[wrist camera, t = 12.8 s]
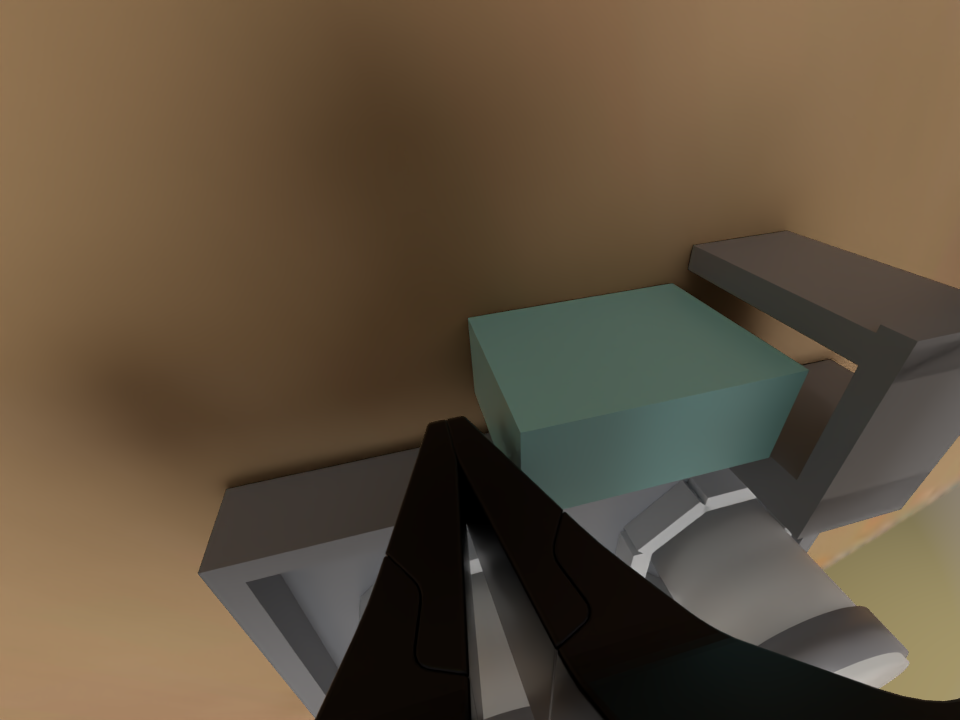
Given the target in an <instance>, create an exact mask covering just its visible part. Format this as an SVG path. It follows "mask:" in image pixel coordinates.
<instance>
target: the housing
mask: <svg viewBox="0 0 960 720" xmlns="http://www.w3.org/2000/svg"><path fill="white" fill-rule="evenodd" d="M688 270H690V271H692V272H693V273H695V274H697V275H699V276H700V277H702V278H704V279H706V280H708V281H709V282H711V283H713V284H715V285H716V286H718V287H720V288H722V289H724V290H725V291H727V292H729V293H731V294H732V295H734V296H736V297H738V298H739V299H741V300H743V301H745V302H747V303H748V304H750V305H752V306H754V307H755V308H757V309H759V310H761V311H763V312H764V313H766V314H768V315H770V316H771V317H773V318H775V319H777V320H779V321H780V322H782V323H784V324H786V325H787V326H789V327H791V328H793V329H795V330H796V331H798V332H800V333H802V334H803V335H805V336H807V337H809V338H811V339H812V340H814V341H816V342H818V343H819V344H821V345H823V346H825V347H827V348H828V349H830V350H832V351H834V352H835V353H837V354H839V355H841V356H843V357H844V358H846V359H848V360H850V361H851V362H853V363H855V364H857V365H858V367H857V369H856V371H855V373H853V372H851V371H850V370H848V369H846V368H844V367H843V366H841V365H839V364H838V363H836V362H834V361H832V360H831V359H830V360H825V361H820V362H816V363H811V364H807V365H802V366H804V367H805V368H807V369H808V370H809V372H808V374H807V376H806V378H805V380H804V382H803V385H802V387H801V389H800V391H799V393H798V395H797V398H796V400H795V402H794V404H793V406H792V409H791V411H790V413H789V415H788V417H787V419H786V422H785V424H784V426H783V428H782V430H781V432H780V435H779V437H778V439H777V441H776V443H775V445H774V448H773V450H772V452H771V454H770V456H769V458H766V459H762V460H758V461H754V462H750V463H746V464H742V465H738V466H734V467H730V468H726V469H722V470H718V471H714V472H710V473H706V474H702V475H698V476H694V477H690V478H686V479H682V480H678V481H674V482H670V483H666V484H662V485H658V486H654V487H650V488H646V489H643V490H639V491H635V492H631V493H627V494H623V495H619V496H615V497H611V498H607V499H603V500H599V501H595V502H591V503H587V504H583V505H579V506H575V507H571V508H567V509H563V512H567V513H568V514H569V515H570V516H571V517H572V518H573V519H574V520H575V521H576V522H577V523H578V524H579V525H580V526H581V527H583V528H584V529H585V530H586V531H587V532H588V533H589V534H590V535H592V536H593V537H594V538H595V539H596V540H597V541H598V542H599V543H601V544H602V545H603V546H604V547H606V548H607V549H608V550H609V551H611V552H612V553H613V554H615V555H616V556H617V557H618V558H620V559H621V560H622V561H623V562H625V563H626V564H627V565H629V566H630V567H631V568H633V569H634V570H635V571H637V572H638V573H639V574H641V575H642V576H643V577H644V578H646V579H647V580H648V581H650V582H651V583H652V584H654V585H655V586H656V587H658V588H659V589H660V590H662V591H663V592H664V593H666V594H667V595H668V596H670V597H671V598H672V599H673V597H672V595H671V594H670V592H669V590H668V589H667V587H666V585H665V584H664V582H663V580H662V579H661V577H660V575H659V574H658V572H657V570H656V569H655V567H654V565H653V564H652V562H651V561H650V559H651V556H652V553H653V552H654V551H656V550H657V549H658V548H660V547H661V546H662V545H664V544H665V543H666V542H667V541H669V540H670V539H671V538H673V537H674V536H675V535H677V534H678V533H679V532H681V531H682V530H683V529H684V528H686V527H687V526H688V525H690V524H691V523H692V522H694V521H695V520H696V519H697V518H699V517H700V516H701V515H703V514H704V513H705V512H707V511H710V510H714V509H718V508H721V507H725V506H729V505H732V504H736V503H740V502H744V501H747V500H751V499H756V500H757V501H758V502H759V503H760V504H761V505H762V506H763V507H764V508H765V509H766V510H767V511H768V512H769V513H770V514H771V516H772V517H773V518H774V519H775V520H776V521H777V522H778V523H779V524H780V525H781V526H782V527H783V528H784V529H785V530H786V531H787V533H788V534H789V535H790V536H791V537H792V538H793V539H794V540H795V541H796V542H797V543H798V544H799V545H800V546H801V547H802V549H803V550H804V551H805V552H806V553H807V552H808V550H809V549H810V547H811V545H812V544H813V542H814V541H815V539H816V538H817V536H818V535H819V533H821V532H824V531H828V530H831V529H835V528H838V527H842V526H845V525H848V524H852V523H855V522H859V521H862V520H866V519H869V518H873V517H876V516H879V515H883V514H886V513H890V512H893V511H897V510H900V509H901V508H902V507H903V506H904V505H905V503H906V502H907V501H908V500H909V498H910V497H911V496H912V495H913V493H914V492H915V491H916V490H917V488H918V487H919V486H920V484H921V483H922V482H923V481H924V479H925V478H926V477H927V476H928V474H929V473H930V472H931V471H932V469H933V468H934V467H935V465H936V464H937V463H938V462H939V460H940V459H941V458H942V457H943V455H944V454H945V453H946V452H947V450H948V449H949V448H950V446H951V445H952V444H953V443H954V441H955V440H956V439H957V438H958V436H959V435H960V289H957V288H954V287H951V286H948V285H945V284H942V283H939V282H937V281H934V280H931V279H928V278H925V277H922V276H919V275H916V274H913V273H910V272H907V271H904V270H901V269H898V268H895V267H892V266H890V265H887V264H884V263H881V262H878V261H875V260H872V259H869V258H866V257H863V256H860V255H857V254H854V253H851V252H848V251H846V250H843V249H840V248H837V247H834V246H831V245H828V244H825V243H822V242H819V241H816V240H813V239H810V238H807V237H804V236H801V235H799V234H796V233H793V232H790V231H782V232H776V233H769V234H763V235H756V236H750V237H743V238H737V239H730V240H724V241H718V242H711V243H705V244H698V245H693V249H692V254H691V258H690V263H689V267H688ZM484 435H485V436H486V437H487V438H488V439H489V440H490V441H491V442H492V443H493V441H492V438H491V435H490V433H486V434H484ZM493 444H494V443H493ZM419 450H420V448H416V449H411V450H406V451H402V452H397V453H392V454H388V455H383V456H379V457H374V458H369V459H365V460H360V461H355V462H351V463H346V464H341V465H337V466H332V467H327V468H323V469H318V470H313V471H309V472H304V473H299V474H295V475H290V476H285V477H281V478H276V479H272V480H267V481H262V482H258V483H253V484H248V485H244V486H239V487H234V488H230V489H226V491H225V494H224V497H223V500H222V503H221V506H220V509H219V512H218V515H217V518H216V521H215V524H214V527H213V530H212V533H211V536H210V539H209V542H208V545H207V548H206V551H205V554H204V557H203V560H202V563H201V566H200V569H199V572H198V574H199V576H200V577H201V578H202V579H203V581H204V582H205V583H206V584H207V586H208V587H209V588H210V589H211V590H212V592H213V593H214V594H215V595H216V597H217V598H218V599H219V600H220V602H221V603H222V604H223V605H224V606H225V608H226V609H227V610H228V611H229V613H230V614H231V615H232V616H233V618H234V619H235V620H236V621H237V622H238V624H239V625H240V626H241V627H242V629H243V630H244V631H245V632H246V634H247V635H248V636H249V637H250V639H251V640H252V641H253V642H254V643H255V645H256V646H257V647H258V648H259V650H260V651H261V652H262V653H263V655H264V656H265V657H266V658H267V659H268V661H269V662H270V663H271V664H272V666H273V667H274V668H275V669H276V671H277V672H278V673H279V674H280V676H281V677H282V678H283V679H284V680H285V682H286V683H287V684H288V685H289V687H290V688H291V689H292V690H293V692H294V693H295V694H296V695H297V696H298V698H299V699H300V700H301V701H302V703H303V704H304V705H305V706H306V708H307V709H308V710H309V711H310V713H311V714H312V715H313V716H314V717H315V718H316V716H317V714H318V711H319V709H320V707H321V705H322V703H323V701H324V699H325V696H326V694H327V692H328V690H329V688H330V686H331V683H332V681H333V679H334V677H335V675H336V673H337V671H338V668H339V666H340V664H341V662H342V660H343V658H344V655H345V653H346V651H347V649H348V647H349V645H350V643H351V640H352V638H353V636H354V634H355V631H356V629H357V627H358V624H359V622H360V620H361V617H362V615H363V613H364V611H365V608H366V606H367V603H368V601H369V598H370V595H371V592H372V590H373V587H374V584H375V582H376V579H377V576H378V573H379V570H380V567H381V564H382V561H383V558H384V557H385V556H386V555H385V553H386V549H387V546H388V543H389V540H390V537H391V534H392V531H393V528H394V525H395V522H396V519H397V516H398V513H399V510H400V507H401V504H402V501H403V498H404V495H405V492H406V489H407V486H408V483H409V480H410V477H411V474H412V471H413V468H414V465H415V462H416V459H417V456H418V453H419ZM466 525H467V524H466ZM467 535H468V547H469V558H470V570H471V574H475V573H478V572H482V568H481V565H480V562H479V559H478V556H477V553H476V550H475V548H474V545H473V542H472V539H471V536H470V533H469V530H468V527H467Z"/></svg>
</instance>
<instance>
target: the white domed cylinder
mask: <svg viewBox="0 0 960 720" xmlns="http://www.w3.org/2000/svg"><path fill="white" fill-rule="evenodd" d="M471 581H472V593H473V604H474V615H475V627H476V638H477V650H478V661H479V673H480V684H481V696H482V707H483V719H484V720H535V719H534V716H533V714H532V711H531V708H530V705H529V702H528V699H527V696H526V693H525V691H524V688H523V685H522V682H521V679H520V676H519V673H518V671H517V668H516V665H515V662H514V659H513V656H512V653H511V651H510V648H509V645H508V642H507V639H506V636H505V633H504V631H503V628H502V625H501V622H500V619H499V616H498V613H497V611H496V608H495V605H494V602H493V599H492V596H491V593H490V591H489V588H488V585H487V582H486V579H485V576H484V573H483V571H482V572H478V573H475V574H471Z"/></svg>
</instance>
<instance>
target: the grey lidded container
mask: <svg viewBox="0 0 960 720" xmlns="http://www.w3.org/2000/svg"><path fill="white" fill-rule="evenodd" d="M650 561H651V562H652V564H653V565H654V567H655V569H656V570H657V572H658V574H659V575H660V577H661V579H662V580H663V582H664V584H665V585H666V587H667V589H668V590H669V592H670V594H671V595H672V597H673V599H674V600H675V601H676V602H678V603H679V604H680V605H682V606H683V607H684V608H686V609H687V610H688V611H690V612H691V613H692V614H694V615H695V616H697V617H698V618H700V619H701V620H703V621H704V622H706V623H707V624H709V625H711V626H713V627H714V628H716V629H718V630H720V631H722V632H724V633H726V634H728V635H730V636H732V637H735V638H737V639H740V640H742V641H745V642H748V643H751V644H754V645H756V646H759V647H762V648H765V649H768V650H771V651H773V652H776V653H779V654H782V655H785V656H788V657H790V658H793V659H796V660H799V661H802V662H805V663H807V664H810V665H813V666H816V667H819V668H821V669H824V670H827V671H830V672H833V673H836V674H838V675H841V676H844V677H847V678H850V679H853V680H855V681H858V682H861V683H864V684H867V685H869V686H872V687H875V688H878V689H879V688H880V687H882V686H884V685H885V684H887V683H888V682H890V681H891V680H893V679H894V678H895V677H897V676H898V675H899V674H900V673H902V672H903V671H904V670H905V669H906V668H907V667H908V665H909V661H908V660H907V659H906V657H907V655H908V650H907V649H906V648H905V647H904V646H903V645H902V644H901V643H900V642H899V641H898V640H897V638H896V637H895V636H894V635H893V634H892V633H891V632H890V631H889V630H888V629H887V628H886V627H885V626H884V625H883V624H882V623H881V622H880V621H879V620H878V619H877V618H876V617H875V616H874V614H873V613H872V612H870V610H869V609H868V608H866V607H863V606H856V605H855V604H854V603H853V602H852V601H851V600H850V598H849V597H847V595H846V594H845V593H844V592H843V591H842V590H841V589H840V588H839V587H838V586H837V585H836V584H835V583H834V581H833V580H832V579H831V578H830V577H829V576H828V575H827V574H826V573H825V572H824V571H823V570H822V569H821V568H820V567H819V566H818V564H817V563H816V562H815V561H814V560H813V559H812V558H811V557H810V556H809V555H808V554H807V553H806V552H805V551H804V550H803V549H802V547H801V546H800V545H799V544H798V543H797V542H796V541H795V540H794V539H793V538H792V537H791V536H790V535H789V534H788V533H787V531H786V530H785V529H784V528H783V527H782V526H781V525H780V524H779V523H778V522H777V521H776V520H775V519H774V518H773V517H772V516H771V514H770V513H769V512H768V511H767V510H766V509H765V508H764V507H763V506H762V505H761V504H760V503H759V502H758V501H757V500H756V499H751V500H747V501H744V502H740V503H736V504H732V505H729V506H725V507H721V508H718V509H714V510H710V511H707V512H705V513H704V514H703V515H701V516H700V517H699V518H697V519H696V520H695V521H694V522H692V523H691V524H690V525H688V526H687V527H686V528H684V529H683V530H682V531H681V532H679V533H678V534H677V535H675V536H674V537H673V538H671V539H670V540H669V541H667V542H666V543H665V544H664V545H662V546H661V547H660V548H658V549H657V550H656V551H654V552H653V553H652V556H651V559H650Z"/></svg>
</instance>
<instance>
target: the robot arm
mask: <svg viewBox="0 0 960 720" xmlns="http://www.w3.org/2000/svg"><path fill="white" fill-rule="evenodd" d="M466 524H467V525H466ZM467 527H468V530H469V533H470V536H471V539H472V542H473V545H474V548H475V550H476V553H477V556H478V559H479V562H480V565H481V568H482V571H483V573H484V576H485V579H486V582H487V585H488V588H489V591H490V593H491V596H492V599H493V602H494V605H495V608H496V611H497V613H498V616H499V619H500V622H501V625H502V628H503V631H504V633H505V636H506V639H507V642H508V645H509V648H510V651H511V653H512V656H513V659H514V662H515V665H516V668H517V671H518V673H519V676H520V679H521V682H522V685H523V688H524V691H525V693H526V696H527V699H528V702H529V705H530V708H531V711H532V714H533V716H534V719H535V720H960V698H959V699H955V700H949V701H931V700H921V699H916V698H911V697H906V696H901V695H898V694H894V693H891V692H887V691H884V690H881V689H878V688H875V687H872V686H869V685H867V684H864V683H861V682H858V681H855V680H853V679H850V678H847V677H844V676H841V675H838V674H836V673H833V672H830V671H827V670H824V669H821V668H819V667H816V666H813V665H810V664H807V663H805V662H802V661H799V660H796V659H793V658H790V657H788V656H785V655H782V654H779V653H776V652H773V651H771V650H768V649H765V648H762V647H759V646H756V645H754V644H751V643H748V642H745V641H742V640H740V639H737V638H735V637H732V636H730V635H728V634H726V633H724V632H722V631H720V630H718V629H716V628H714V627H713V626H711V625H709V624H707V623H706V622H704V621H703V620H701V619H700V618H698V617H697V616H695V615H694V614H692V613H691V612H690V611H688V610H687V609H686V608H684V607H683V606H682V605H680V604H679V603H678V602H676V601H675V600H674V599H672V598H671V597H670V596H668V595H667V594H666V593H664V592H663V591H662V590H660V589H659V588H658V587H656V586H655V585H654V584H652V583H651V582H650V581H648V580H647V579H646V578H644V577H643V576H642V575H641V574H639V573H638V572H637V571H635V570H634V569H633V568H631V567H630V566H629V565H627V564H626V563H625V562H623V561H622V560H621V559H620V558H618V557H617V556H616V555H615V554H613V553H612V552H611V551H609V550H608V549H607V548H606V547H604V546H603V545H602V544H601V543H599V542H598V541H597V540H596V539H595V538H594V537H593V536H592V535H590V534H589V533H588V532H587V531H586V530H585V529H584V528H583V527H581V526H580V525H579V524H578V523H577V522H576V521H575V520H574V519H573V518H572V517H571V516H570V515H569V514H568V513H567V512H563V509H562V508H561V507H560V506H559V505H558V504H557V503H556V502H555V501H554V500H553V499H552V498H550V497H549V496H548V495H547V494H546V493H545V492H544V491H543V490H542V489H541V488H540V487H539V486H538V485H537V484H536V483H535V482H533V481H532V480H531V479H530V478H529V477H528V476H527V475H526V474H525V473H524V472H523V471H522V470H521V469H520V468H519V467H518V466H517V465H515V464H514V463H513V462H512V461H511V460H510V459H509V458H508V457H507V456H506V455H505V454H504V453H503V452H502V451H501V450H500V449H499V448H497V447H496V446H495V445H494V444H493V443H492V442H491V441H490V440H489V439H488V438H487V437H486V436H485V435H484V434H483V433H482V432H481V431H479V430H478V429H477V428H476V427H475V426H474V425H473V424H472V423H471V422H470V421H469V420H468V419H467V418H466V417H464V416H460V417H455V418H450V419H447V420H440V421H435V422H431V423H429V424H428V426H427V429H426V432H425V435H424V438H423V441H422V444H421V447H420V450H419V453H418V456H417V459H416V462H415V465H414V468H413V471H412V474H411V477H410V480H409V483H408V486H407V489H406V492H405V495H404V498H403V501H402V504H401V507H400V510H399V513H398V516H397V519H396V522H395V525H394V528H393V531H392V534H391V537H390V540H389V543H388V546H387V549H386V553H385V555H386V556H385V557H384V558H383V561H382V564H381V567H380V570H379V573H378V576H377V579H376V582H375V584H374V587H373V590H372V592H371V595H370V598H369V601H368V603H367V606H366V608H365V611H364V613H363V615H362V617H361V620H360V622H359V624H358V627H357V629H356V631H355V634H354V636H353V638H352V640H351V643H350V645H349V647H348V649H347V651H346V653H345V655H344V658H343V660H342V662H341V664H340V666H339V668H338V671H337V673H336V675H335V677H334V679H333V681H332V683H331V686H330V688H329V690H328V692H327V694H326V696H325V699H324V701H323V703H322V705H321V707H320V709H319V711H318V714H317V716H316V718H315V720H484V719H483V707H482V696H481V684H480V673H479V661H478V650H477V638H476V627H475V615H474V604H473V593H472V581H471V570H470V558H469V547H468V535H467Z"/></svg>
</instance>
